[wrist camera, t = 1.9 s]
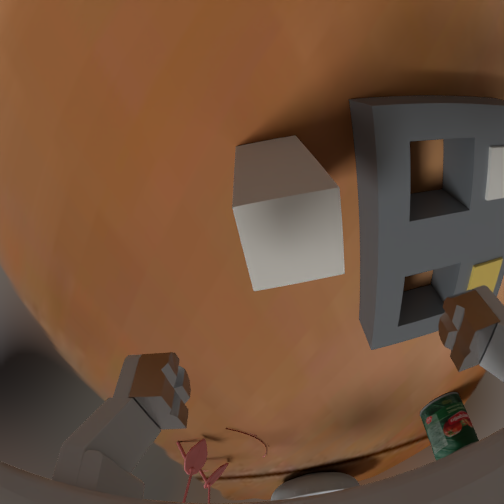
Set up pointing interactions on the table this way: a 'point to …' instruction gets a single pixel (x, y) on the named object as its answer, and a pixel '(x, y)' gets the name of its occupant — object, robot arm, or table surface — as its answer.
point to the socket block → (426, 209)
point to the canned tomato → (447, 425)
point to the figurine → (201, 464)
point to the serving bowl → (314, 485)
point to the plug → (286, 214)
